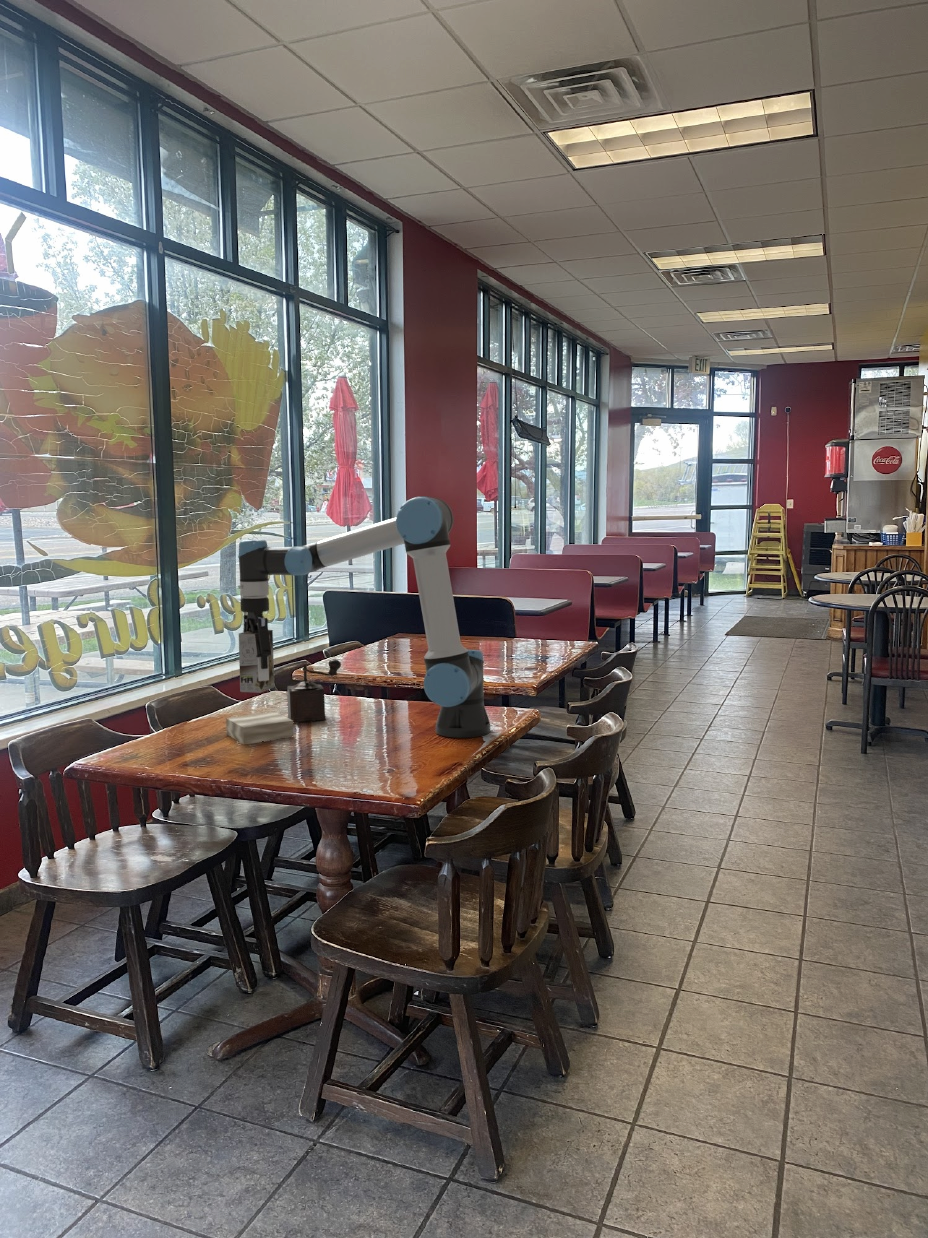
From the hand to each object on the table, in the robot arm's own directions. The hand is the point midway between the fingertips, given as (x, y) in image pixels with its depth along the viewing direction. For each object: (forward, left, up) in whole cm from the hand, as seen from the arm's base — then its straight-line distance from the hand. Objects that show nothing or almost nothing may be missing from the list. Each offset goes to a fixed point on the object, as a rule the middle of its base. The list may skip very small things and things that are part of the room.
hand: (257, 677), depth 247 cm
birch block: (0, 0, -17) cm, 17 cm away
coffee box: (0, 0, -4) cm, 4 cm away
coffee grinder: (+13, -21, -16) cm, 30 cm away
